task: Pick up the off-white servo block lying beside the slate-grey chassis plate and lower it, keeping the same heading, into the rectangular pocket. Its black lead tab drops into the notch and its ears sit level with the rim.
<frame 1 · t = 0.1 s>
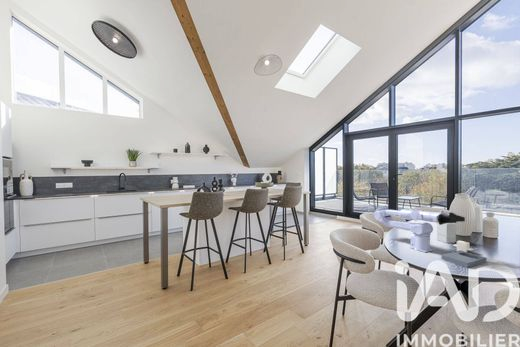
hand: (460, 220, 130), 22 cm above the table, tool horizontal, fingers open, 7 cm apart
supplement box: (446, 241, 164), on the table
chassis: (463, 260, 131), on the table
servo: (462, 251, 144), on the table
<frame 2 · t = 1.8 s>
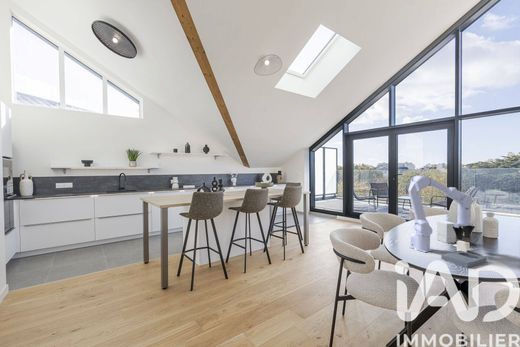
hand: (463, 238, 144), 8 cm above the table, tool pointing down, fingers open, 7 cm apart
nothing on the table moved.
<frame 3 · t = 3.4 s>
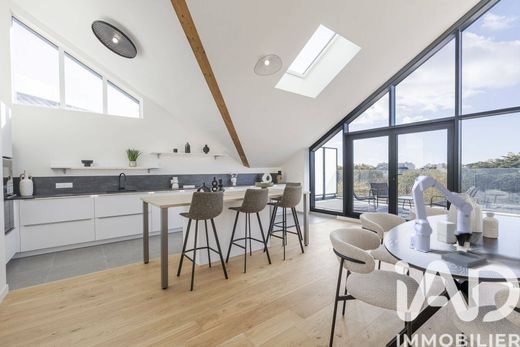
hand: (463, 245, 144), 4 cm above the table, tool pointing down, fingers closed on servo, 3 cm apart
servo: (462, 251, 144), on the table, touching gripper
everything else where it was.
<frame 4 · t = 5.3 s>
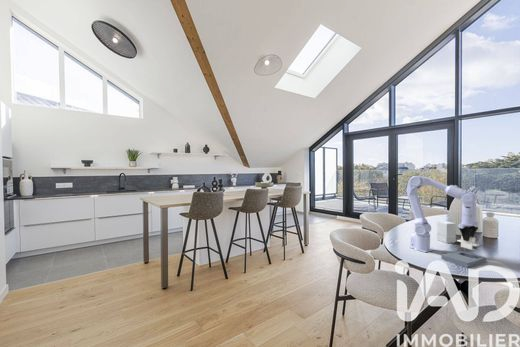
hand: (467, 240, 132), 10 cm above the table, tool pointing down, fingers closed on servo, 3 cm apart
servo: (467, 247, 132), point 6 cm above the table, touching gripper
everything else where it was.
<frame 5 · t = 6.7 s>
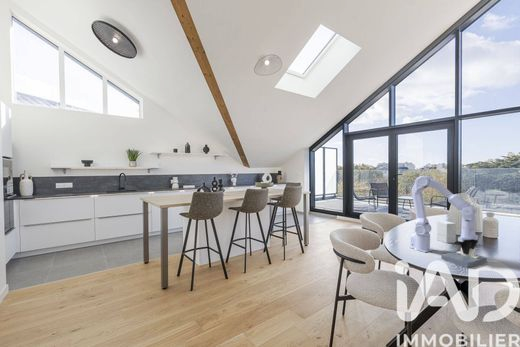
hand: (467, 253, 132), 3 cm above the table, tool pointing down, fingers closed on servo, 3 cm apart
servo: (467, 259, 132), resting in chassis, touching gripper
everything else where it was.
when the fingers open (3 cm above the table, at t = 7.3 s): servo stays where it is, resting in chassis.
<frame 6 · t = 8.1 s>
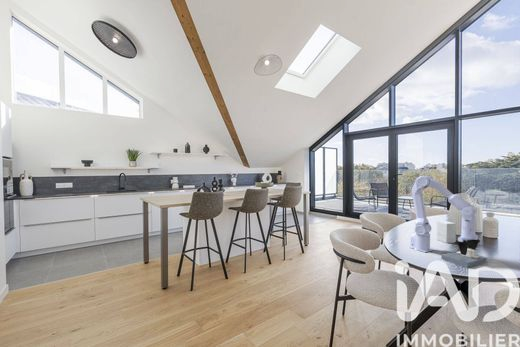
hand: (467, 253, 132), 3 cm above the table, tool pointing down, fingers open, 7 cm apart
servo: (467, 259, 132), resting in chassis
everything else where it was.
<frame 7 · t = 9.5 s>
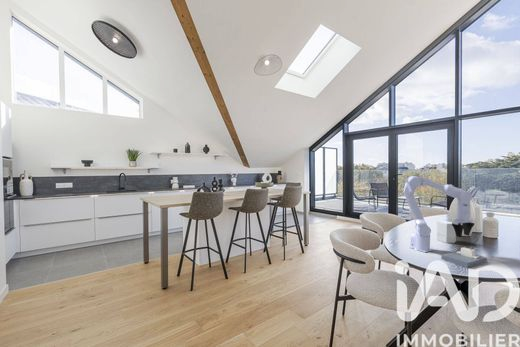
hand: (462, 235, 140), 10 cm above the table, tool pointing down, fingers open, 7 cm apart
nothing on the table moved.
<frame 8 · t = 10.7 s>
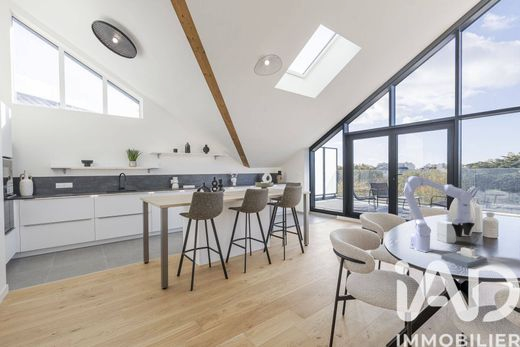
hand: (462, 235, 140), 10 cm above the table, tool pointing down, fingers open, 7 cm apart
nothing on the table moved.
at the end: servo 0.0 cm from the target spot on the chassis, point 0.0 cm above the chassis's base; servo tilted 0°; the gripper is holding nothing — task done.
